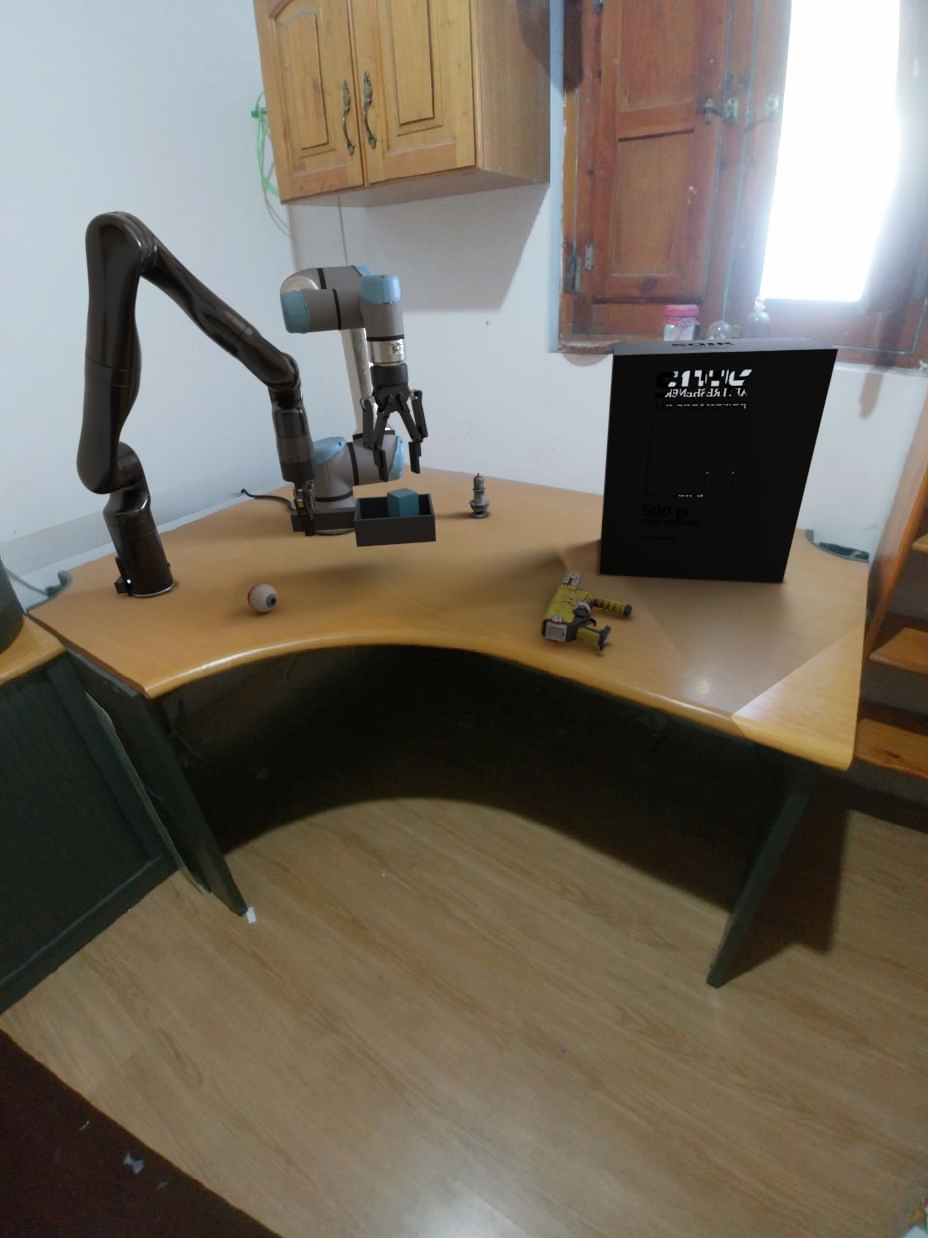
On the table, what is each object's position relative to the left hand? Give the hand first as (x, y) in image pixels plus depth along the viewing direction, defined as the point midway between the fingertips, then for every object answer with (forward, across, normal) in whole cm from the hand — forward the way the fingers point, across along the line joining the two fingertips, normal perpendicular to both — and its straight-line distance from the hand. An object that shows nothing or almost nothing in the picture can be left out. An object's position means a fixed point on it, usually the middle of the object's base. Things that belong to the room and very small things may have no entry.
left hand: (311, 532), depth 135 cm
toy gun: (+11, -32, -55) cm, 65 cm away
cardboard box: (+11, -9, -84) cm, 85 cm away
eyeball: (+11, -15, +10) cm, 21 cm away
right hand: (-11, 0, -21) cm, 24 cm away
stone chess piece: (+11, +31, -42) cm, 54 cm away
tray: (+1, 0, -12) cm, 12 cm away
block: (+1, 0, -21) cm, 21 cm away
